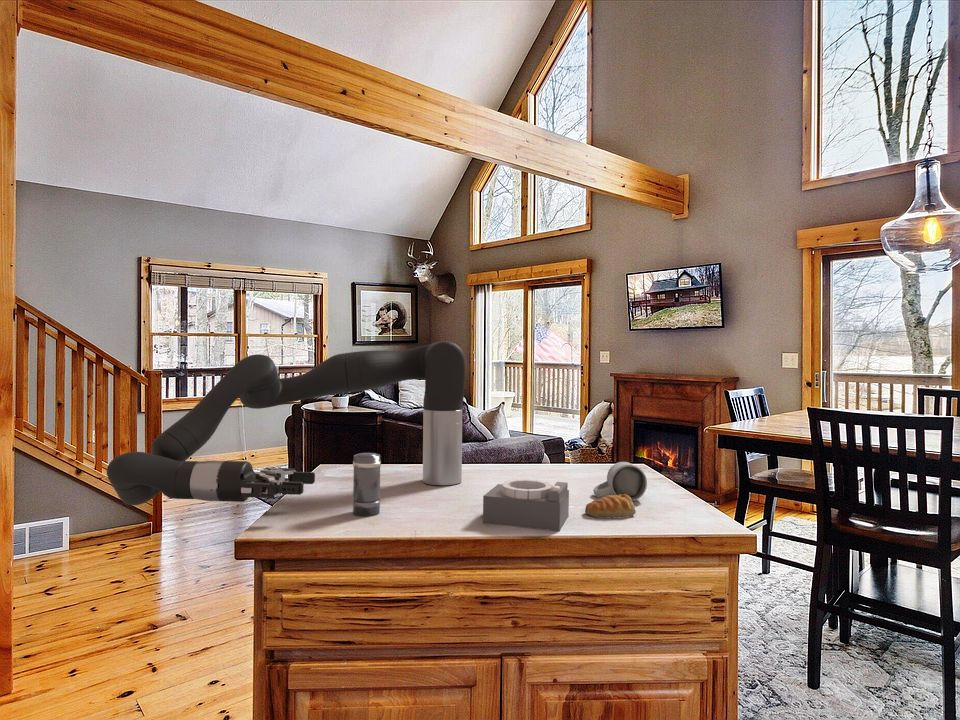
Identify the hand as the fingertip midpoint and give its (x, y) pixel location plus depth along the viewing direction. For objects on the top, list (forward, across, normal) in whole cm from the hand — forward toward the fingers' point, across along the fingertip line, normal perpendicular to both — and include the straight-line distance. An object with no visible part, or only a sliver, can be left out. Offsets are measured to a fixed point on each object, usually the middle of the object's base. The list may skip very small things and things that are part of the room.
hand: (308, 483), depth 113 cm
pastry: (+58, -1, -5) cm, 58 cm away
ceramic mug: (+63, -15, -5) cm, 65 cm away
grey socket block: (+41, +3, -5) cm, 42 cm away
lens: (+11, -1, -6) cm, 12 cm away
